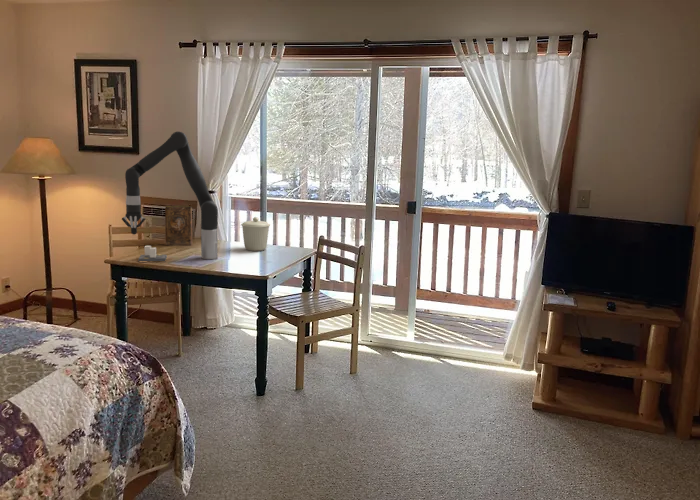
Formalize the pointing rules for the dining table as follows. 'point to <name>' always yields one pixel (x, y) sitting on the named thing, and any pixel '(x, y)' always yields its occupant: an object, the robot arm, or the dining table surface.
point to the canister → (255, 234)
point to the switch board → (158, 258)
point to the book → (178, 225)
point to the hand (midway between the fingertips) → (134, 234)
